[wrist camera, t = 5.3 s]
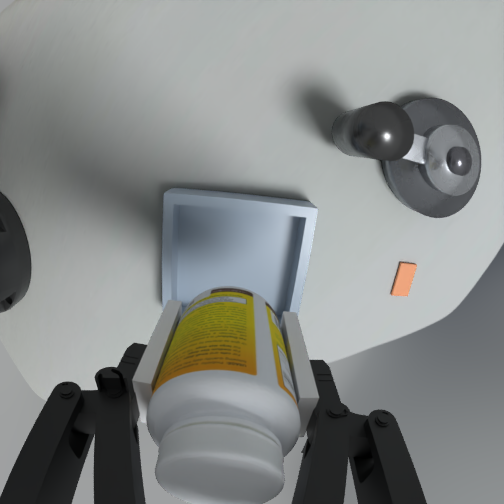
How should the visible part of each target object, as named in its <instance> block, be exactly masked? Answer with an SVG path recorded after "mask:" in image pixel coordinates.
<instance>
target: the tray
mask: <svg viewBox="0 0 504 504" xmlns="http://www.w3.org/2000/svg"><path fill="white" fill-rule="evenodd" d="M317 213H318V208H317V207H316V206H315V205H313V204H312V203H311V202H310V201H302V200H294V199H286V198H278V197H269V196H261V195H251V194H242V193H232V192H221V191H210V190H198V189H186V188H172V189H170V190H168V191H166V192H165V193H164V201H163V228H162V303H163V310H164V308H165V306H166V304H167V302H168V300H174V301H182V314H183V312H184V310H185V308H186V307H187V305H188V304H189V303H190V302H191V301H192V300H193V299H194V298H195V297H196V296H198V295H199V294H201V293H203V292H204V291H207V290H209V289H212V288H216V287H222V286H234V287H241V288H245V289H247V290H250V291H252V292H255V293H256V294H258V295H260V296H261V297H262V298H264V299H265V300H266V301H267V302H268V303H269V304H270V305H271V307H272V308H273V309H274V311H275V313H276V315H277V317H278V320H279V324H281V319H282V314H283V311H286V312H296V313H297V317H298V314H299V309H300V304H301V299H302V294H303V290H304V285H305V279H306V274H307V269H308V264H309V259H310V253H311V248H312V242H313V236H314V231H315V225H316V219H317Z"/></svg>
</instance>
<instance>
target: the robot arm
mask: <svg viewBox="0 0 504 504" xmlns="http://www.w3.org/2000/svg"><path fill="white" fill-rule="evenodd" d="M30 277H31V260H30V252H29V247H28V242H27V239H26V235H25V232H24V229H23V227H22V224H21V222H20V220H19V217H18V215H17V214H16V212H15V210H14V208H13V207H12V205H11V204H10V203H9V201H8V200H7V199H6V198H5V197H4V196H3V195H2V194H1V193H0V313H1V312H5V311H7V310H9V309H11V308H12V307H13V306H14V305H16V304H17V303H18V302H19V301H20V300H21V299H22V298H23V297H24V296H25V294H26V292H27V290H28V287H29V283H30ZM181 316H182V301H174V300H168V302H167V304H166V306H165V308H164V310H163V312H162V315H161V317H160V319H159V321H158V323H157V325H156V328H155V330H154V332H153V334H152V336H151V339H150V341H149V343H148V345H144V344H138V343H133V344H132V345H131V346H129V347H128V348H127V349H126V351H125V353H124V356H123V357H122V359H121V362H120V363H119V365H118V367H117V368H116V367H106V368H103V369H101V370H99V371H98V372H97V373H96V375H95V381H96V384H97V387H98V390H81V389H80V387H79V386H78V385H77V384H76V383H73V382H62V383H60V384H58V385H57V386H56V387H55V388H54V389H53V391H52V393H51V395H50V396H49V398H48V400H47V402H46V404H45V405H44V407H43V409H42V411H41V413H40V414H39V417H38V418H37V420H36V422H35V424H34V426H33V428H32V430H31V431H30V433H29V435H28V437H27V439H26V441H25V443H24V445H23V447H22V450H21V451H20V454H19V456H18V458H17V460H16V462H15V464H14V466H13V469H12V471H11V473H10V475H9V478H8V480H7V483H6V485H5V487H4V490H3V492H2V494H1V497H0V504H72V500H73V496H74V494H75V490H76V487H77V484H78V481H79V478H80V474H81V471H82V468H83V465H84V462H85V459H86V457H87V454H88V451H89V448H90V445H91V442H92V440H93V437H94V434H95V446H94V504H146V503H145V496H144V488H143V480H142V471H141V460H140V450H139V449H140V448H139V436H138V435H139V434H138V426H137V421H138V418H139V416H140V420H141V422H142V423H147V420H146V416H147V409H148V405H149V402H150V399H151V396H152V393H153V390H154V388H155V385H156V382H157V379H158V377H159V374H160V371H161V368H162V366H163V363H164V360H165V357H166V355H167V352H168V350H169V347H170V344H171V342H172V339H173V336H174V334H175V331H176V329H177V326H178V324H179V321H180V319H181ZM280 328H281V332H282V336H283V340H284V345H285V349H286V354H287V358H288V363H289V368H290V371H291V377H292V382H293V386H294V391H295V396H296V400H297V405H298V409H299V414H300V422H301V427H300V434H299V437H304V435H305V432H306V431H307V436H308V439H307V441H306V443H305V446H304V448H303V450H302V453H303V457H302V463H301V467H300V471H299V475H298V480H297V484H296V488H295V492H294V497H293V500H292V504H343V503H344V495H345V486H346V475H347V464H348V457H349V462H350V466H351V471H352V475H353V480H354V485H355V489H356V495H357V500H358V504H427V503H426V500H425V497H424V494H423V491H422V488H421V485H420V482H419V479H418V476H417V473H416V471H415V468H414V465H413V462H412V460H411V457H410V454H409V452H408V449H407V447H406V444H405V441H404V439H403V436H402V433H401V431H400V428H399V426H398V423H397V421H396V419H395V417H394V416H393V415H392V414H391V413H390V412H388V411H385V410H375V411H373V412H371V413H370V414H369V416H365V415H359V414H355V413H352V412H350V410H349V409H348V407H347V406H346V405H344V404H342V403H341V401H340V398H339V395H338V392H337V389H336V386H335V383H334V381H333V377H332V374H331V371H330V368H329V366H328V365H327V364H326V363H325V362H324V361H323V360H309V357H308V353H307V349H306V346H305V342H304V338H303V335H302V331H301V327H300V324H299V320H298V317H297V313H296V312H286V311H283V314H282V319H281V324H280Z"/></svg>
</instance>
